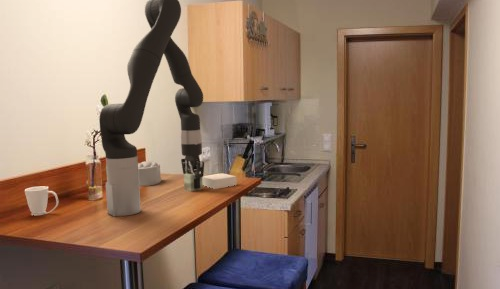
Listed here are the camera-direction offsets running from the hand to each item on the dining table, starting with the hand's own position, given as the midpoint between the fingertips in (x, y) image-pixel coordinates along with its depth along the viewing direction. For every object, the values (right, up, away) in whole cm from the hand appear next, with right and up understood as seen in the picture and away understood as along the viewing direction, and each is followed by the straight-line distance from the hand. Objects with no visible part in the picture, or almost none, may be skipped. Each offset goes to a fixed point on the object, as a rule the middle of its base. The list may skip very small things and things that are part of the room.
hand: (193, 187), depth 168 cm
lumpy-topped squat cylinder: (-21, 0, +17) cm, 27 cm away
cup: (-43, -6, -28) cm, 52 cm away
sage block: (0, -1, 0) cm, 1 cm away
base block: (+9, 0, +7) cm, 11 cm away
